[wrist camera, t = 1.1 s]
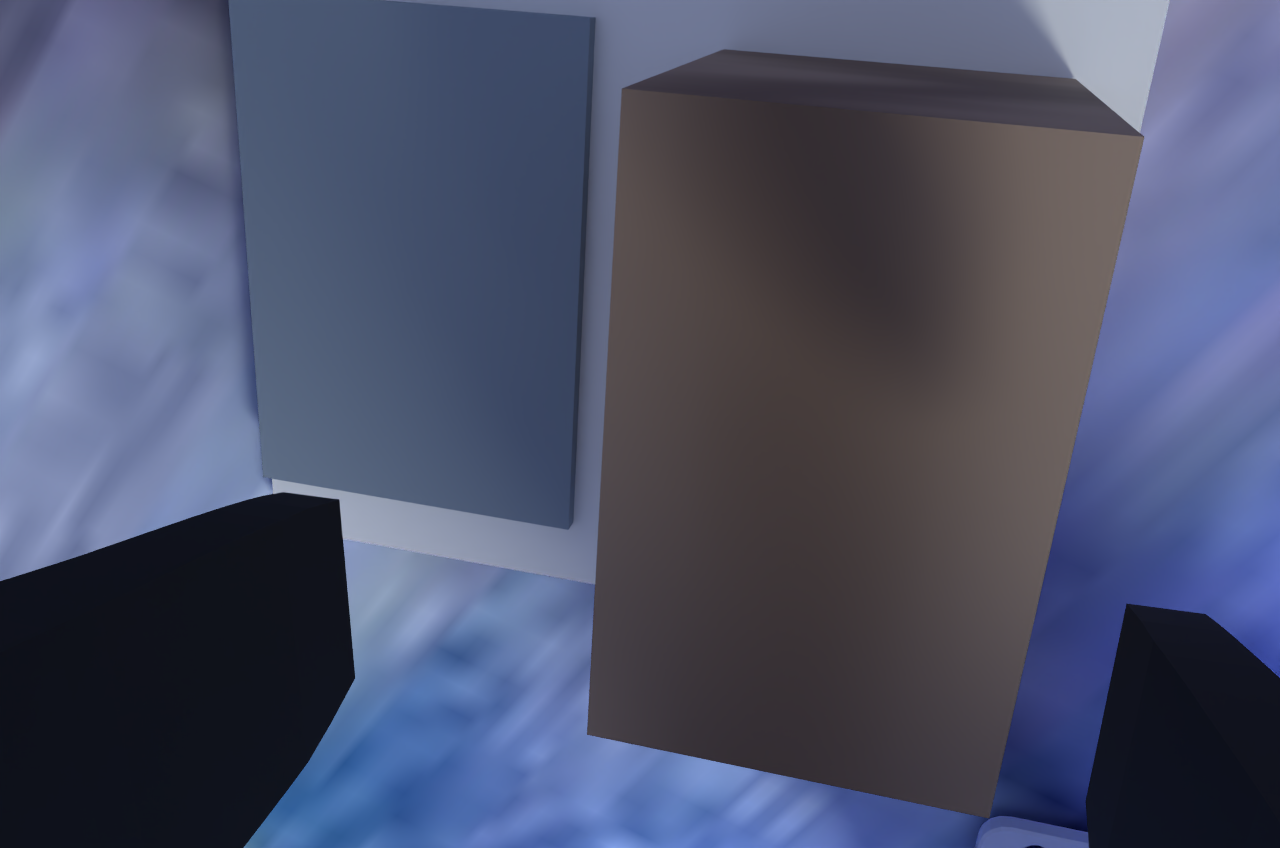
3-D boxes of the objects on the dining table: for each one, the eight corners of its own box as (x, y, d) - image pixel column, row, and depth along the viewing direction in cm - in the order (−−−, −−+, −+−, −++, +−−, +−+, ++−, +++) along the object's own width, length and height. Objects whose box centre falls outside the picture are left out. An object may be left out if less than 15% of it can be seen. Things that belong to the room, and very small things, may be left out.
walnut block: (1075, 78, 16) (1143, 137, 11) (975, 576, 19) (989, 818, 14) (723, 49, 17) (622, 88, 12) (682, 526, 20) (586, 734, 15)
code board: (1168, -32, 16) (1177, -32, 15) (1018, 642, 20) (1020, 663, 19) (253, -92, 19) (231, -93, 18) (291, 513, 23) (274, 527, 22)
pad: (595, 17, 17) (589, 17, 17) (572, 522, 21) (568, 529, 20) (237, -11, 18) (227, -12, 18) (271, 470, 22) (262, 477, 21)
